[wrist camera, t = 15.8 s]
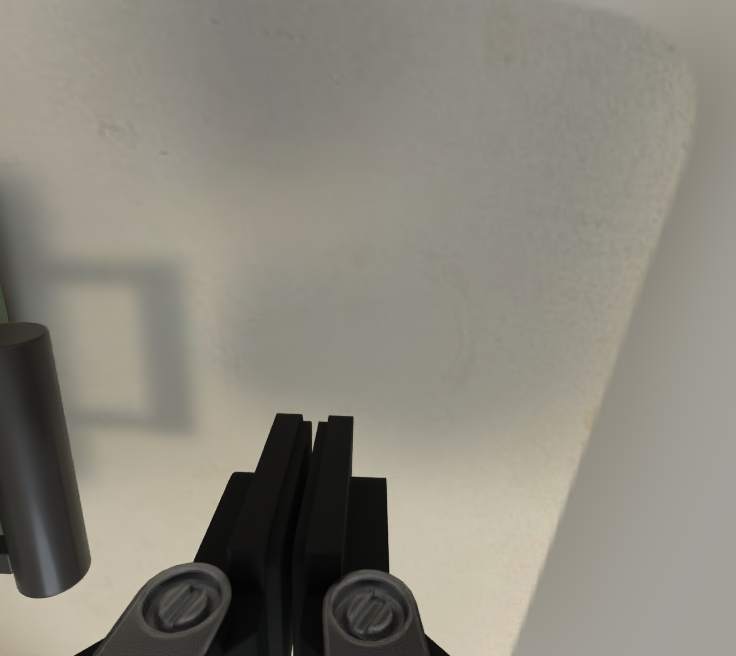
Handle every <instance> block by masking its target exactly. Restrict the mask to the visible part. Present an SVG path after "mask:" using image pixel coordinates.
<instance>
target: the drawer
mask: <svg viewBox="0 0 736 656" xmlns="http://www.w3.org/2000/svg"><path fill="white" fill-rule="evenodd" d="M90 564H91V556H90V550H89V545H88V539H87V534H86V529H85V523H84V518H83V512H82V507H81V501H80V496H79V491H78V485H77V480H76V474H75V469H74V463H73V458H72V453H71V447H70V442H69V436H68V431H67V425H66V420H65V415H64V409H63V404H62V398H61V393H60V387H59V382H58V377H57V371H56V366H55V360H54V355H53V349H52V344H51V339H50V333H49V330H48V329H47V327H46V326H44V325H41V324H37V323H28V322H14V323H9V320H8V316H7V311H6V306H5V301H4V297H3V292H2V287H1V283H0V574H13V573H14V577H15V581H16V585H17V589H18V591H19V592H20V593H21V594H23V595H24V596H26V597H30V598H47V597H51V596H55V595H57V594H60V593H62V592H64V591H66V590H68V589H70V588H71V587H73V586H74V585H76V584H77V583H78V582H79V581H80V580H81V579H82V578H83V577H84V576H85V575H86V573H87V572H88V570H89V567H90Z"/></svg>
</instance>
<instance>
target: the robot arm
mask: <svg viewBox="0 0 736 656" xmlns="http://www.w3.org/2000/svg"><path fill="white" fill-rule="evenodd" d="M352 451H353V416H332V415H329V417H328V422H319V423H318V427H317V432H316V437H315V442H314V447H313V452H312V422H311V421H303V415H302V414H283V413H277V414H276V417H275V419H274V422H273V425H272V427H271V430H270V433H269V435H268V438H267V441H266V444H265V446H264V449H263V452H262V454H261V457H260V460H259V462H258V465H257V468H256V471H255V473H252V472H234V473H233V474H232V475H231V477H230V479H229V481H228V484H227V486H226V488H225V491H224V493H223V495H222V497H221V500H220V502H219V504H218V507H217V509H216V511H215V513H214V516H213V518H212V520H211V522H210V525H209V527H208V529H207V532H206V534H205V536H204V538H203V541H202V543H201V545H200V547H199V550H198V552H197V554H196V557H195V559H194V561H193V562H190V563H185V564H180V565H176V566H173V567H171V568H169V569H166V570H164V571H162V572H160V573H159V574H157V575H156V576H154V577H153V578H151V579H150V580H149V581H148V582H147V583H146V584H145V585H144V586H143V587H142V588H141V589H140V590H139V591H138V593H137V594H136V596H135V597H134V598H133V600H132V601H131V603H130V604H129V605H128V607H127V608H126V610H125V611H124V612H123V614H122V615H121V616H120V618H119V619H118V621H117V622H116V623H115V625H114V626H113V628H112V629H111V630H110V632H109V633H108V635H107V636H106V637H105V638H104V639H102V640H100V641H99V642H97V643H95V644H93V645H92V646H90V647H88V648H86V649H85V650H83V651H81V652H80V653H78V654H76V655H74V656H291V652H292V646H293V656H450V655H449V654H447V653H446V652H445V651H444V650H443V649H442V648H441V647H439V646H438V645H437V644H436V643H435V642H434V641H433V640H431V639H430V638H429V637H428V636H427V635H426V634H425V633H424V629H423V625H422V622H421V618H420V614H419V610H418V606H417V603H416V601H415V598H414V596H413V594H412V592H411V590H410V589H409V588H408V587H407V586H406V585H405V584H404V583H403V581H401V580H399V579H398V578H396V577H395V576H393V575H391V574H389V546H388V515H387V483H386V478H373V477H352Z"/></svg>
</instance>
